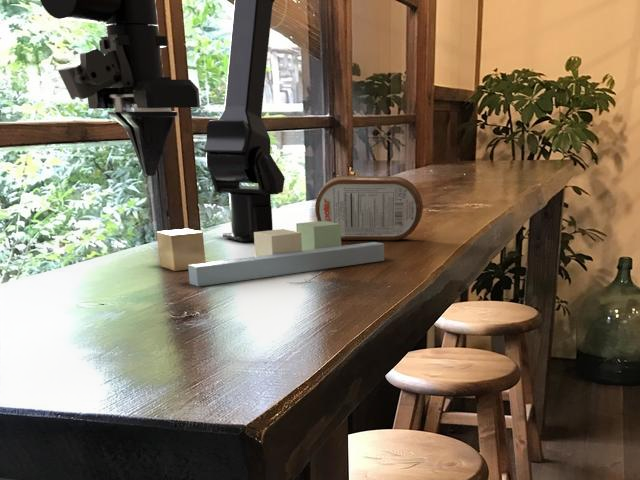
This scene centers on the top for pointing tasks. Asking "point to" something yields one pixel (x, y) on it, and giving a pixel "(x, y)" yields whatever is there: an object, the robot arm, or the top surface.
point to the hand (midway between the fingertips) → (149, 175)
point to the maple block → (180, 248)
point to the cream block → (277, 242)
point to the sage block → (319, 234)
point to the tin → (370, 207)
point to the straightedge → (284, 263)
